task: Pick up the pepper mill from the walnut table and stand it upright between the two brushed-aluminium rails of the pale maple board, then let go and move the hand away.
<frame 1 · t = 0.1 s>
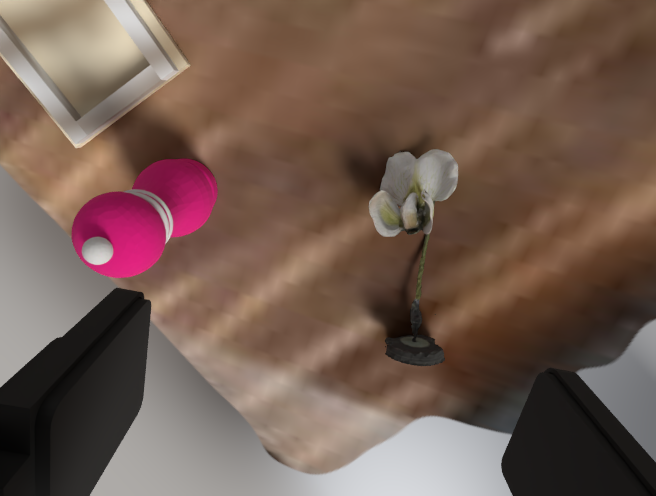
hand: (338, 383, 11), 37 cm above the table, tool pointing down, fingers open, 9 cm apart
artificial flower: (405, 250, 49), on the table
pepper mill: (188, 188, 46), on the table
rail board: (61, 10, 41), on the table
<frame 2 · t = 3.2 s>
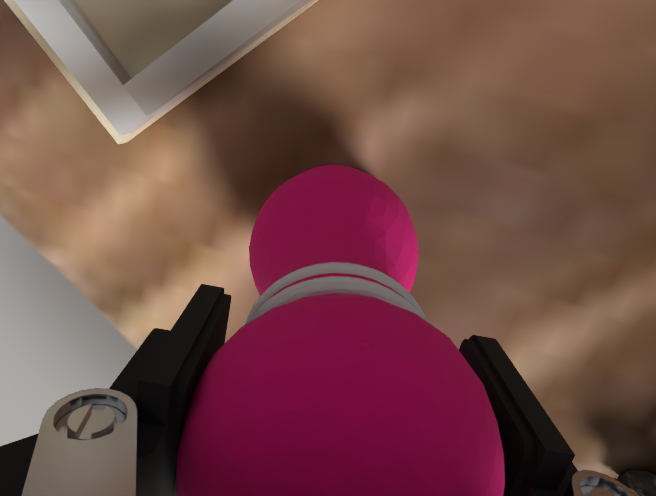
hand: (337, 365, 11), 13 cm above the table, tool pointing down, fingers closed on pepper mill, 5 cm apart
pepper mill: (332, 222, 24), on the table, touching gripper
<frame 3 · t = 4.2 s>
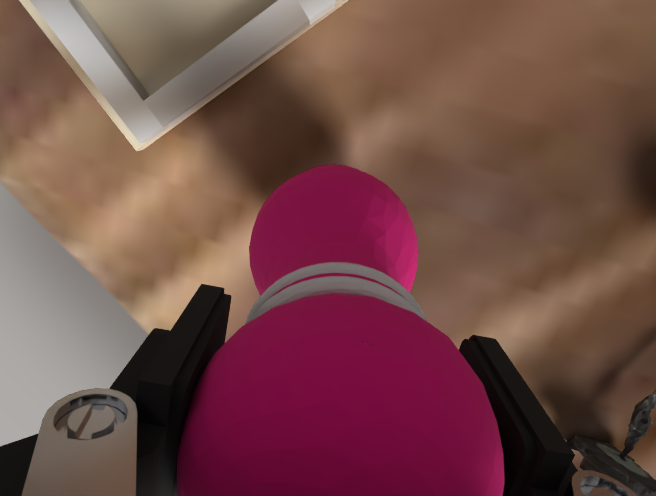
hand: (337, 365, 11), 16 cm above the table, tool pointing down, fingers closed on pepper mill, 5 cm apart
pepper mill: (332, 222, 24), point 3 cm above the table, touching gripper
when the fingers open (15 cm above the table, at t = 10.8 s): pepper mill stays where it is, resting on rail board.
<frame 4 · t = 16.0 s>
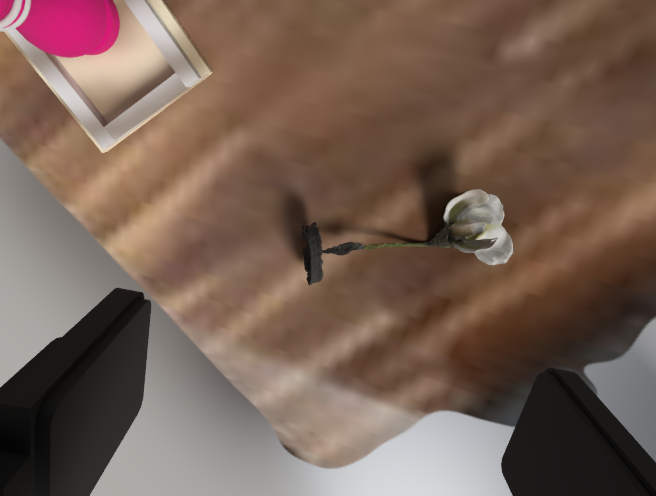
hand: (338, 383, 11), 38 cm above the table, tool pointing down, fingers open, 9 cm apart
artificial flower: (403, 226, 50), on the table
pepper mill: (87, 19, 42), point 1 cm above the table, touching rail board
rail board: (90, 21, 42), on the table
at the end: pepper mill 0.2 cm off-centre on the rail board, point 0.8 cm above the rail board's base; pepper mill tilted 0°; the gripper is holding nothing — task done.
